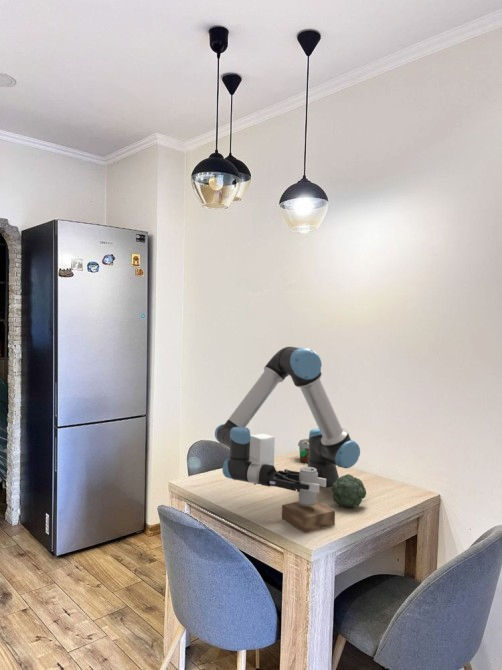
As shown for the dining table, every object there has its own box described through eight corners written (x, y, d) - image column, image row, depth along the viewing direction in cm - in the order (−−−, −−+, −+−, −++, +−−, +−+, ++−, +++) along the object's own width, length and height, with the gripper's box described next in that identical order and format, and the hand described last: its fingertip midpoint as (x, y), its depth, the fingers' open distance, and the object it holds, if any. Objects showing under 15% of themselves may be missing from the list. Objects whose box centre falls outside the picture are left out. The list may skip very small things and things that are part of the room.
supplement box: (274, 467, 229) (275, 436, 229) (259, 470, 224) (260, 438, 224) (263, 463, 237) (264, 432, 236) (248, 465, 232) (249, 435, 231)
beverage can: (316, 507, 163) (317, 472, 162) (297, 505, 164) (298, 470, 164) (317, 500, 169) (318, 467, 169) (299, 499, 170) (300, 465, 170)
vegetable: (368, 493, 190) (373, 488, 177) (347, 518, 187) (351, 515, 173) (344, 472, 194) (347, 465, 181) (323, 496, 191) (325, 491, 178)
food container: (296, 457, 248) (297, 438, 247) (308, 457, 247) (309, 438, 247) (298, 464, 235) (298, 444, 235) (311, 464, 235) (311, 444, 235)
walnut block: (310, 512, 176) (311, 498, 175) (334, 525, 165) (334, 510, 164) (281, 519, 169) (282, 505, 169) (304, 533, 158) (305, 518, 158)
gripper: (273, 477, 183) (331, 488, 172) (249, 492, 166) (312, 505, 155) (274, 458, 183) (331, 467, 172) (250, 470, 166) (312, 482, 155)
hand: (322, 485), depth 164 cm, fingers closed on beverage can, 6 cm apart
